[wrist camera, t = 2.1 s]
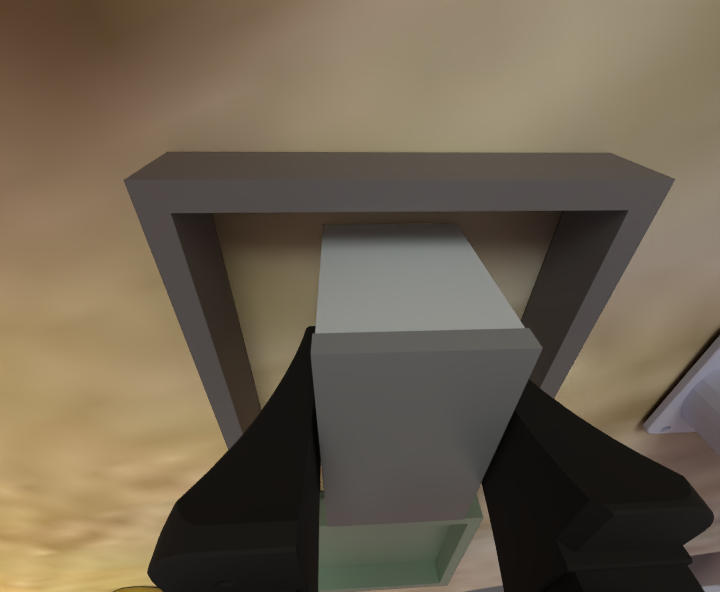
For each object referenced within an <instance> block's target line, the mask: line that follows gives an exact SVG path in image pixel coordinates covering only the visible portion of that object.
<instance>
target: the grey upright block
mask: <svg viewBox="0 0 720 592" xmlns="http://www.w3.org/2000/svg"><path fill="white" fill-rule="evenodd" d="M542 349H543V348H542V346H541V345H540V343H539V342H538V340H537V339H536V337H535V336H534V334H533V333H532V331H531V330H530V328H525V327H524V326H523V324H522V323H521V321H520V319H519V318H518V316H517V315H516V313H515V312H514V310H513V309H512V307H511V306H510V304H509V303H508V301H507V300H506V298H505V297H504V295H503V294H502V292H501V291H500V289H499V288H498V286H497V284H496V283H495V281H494V280H493V278H492V277H491V275H490V274H489V272H488V271H487V269H486V268H485V266H484V265H483V263H482V262H481V260H480V259H479V257H478V256H477V254H476V253H475V251H474V249H473V248H472V246H471V245H470V243H469V242H468V240H467V239H466V237H465V236H464V234H463V233H462V231H461V230H460V228H459V227H458V225H457V224H456V223H432V224H323V235H322V248H321V262H320V275H319V288H318V302H317V315H316V328H315V333H312V344H311V364H312V374H313V384H314V394H315V405H316V415H317V425H318V435H319V445H320V455H321V466H322V476H323V486H324V496H325V506H326V517H327V527H337V526H356V525H374V524H393V523H411V522H430V521H448V520H464V518H465V516H466V514H467V512H468V510H469V508H470V505H471V503H472V501H473V499H474V497H475V495H476V492H477V490H478V488H479V486H480V484H481V482H482V479H483V477H484V475H485V473H486V471H487V468H488V466H489V464H490V462H491V460H492V458H493V455H494V453H495V451H496V449H497V447H498V445H499V442H500V440H501V438H502V436H503V434H504V432H505V429H506V427H507V425H508V423H509V421H510V418H511V416H512V414H513V412H514V410H515V408H516V405H517V403H518V401H519V399H520V397H521V395H522V392H523V390H524V388H525V386H526V384H527V382H528V379H529V377H530V375H531V373H532V371H533V368H534V366H535V364H536V362H537V360H538V358H539V355H540V353H541V351H542Z"/></svg>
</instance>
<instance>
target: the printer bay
mask: <svg viewBox="0 0 720 592" xmlns="http://www.w3.org/2000/svg"><path fill="white" fill-rule="evenodd" d="M674 180H675V179H673V178H671V177H669V176H666V175H664V174H661V173H659V172H656V171H654V170H651V169H649V168H646V167H644V166H641V165H639V164H637V163H634V162H632V161H629V160H627V159H624V158H622V157H619V156H617V155H614V154H612V153H386V152H166V153H165V154H163V155H162V156H160V157H159V158H157V159H156V160H154V161H153V162H151V163H149V164H148V165H146V166H145V167H143V168H142V169H140V170H139V171H137V172H136V173H134V174H132V175H131V176H129V177H128V178H126V179H125V180H124V182H125V185H126V187H127V190H128V192H129V195H130V197H131V200H132V203H133V205H134V208H135V210H136V213H137V216H138V218H139V221H140V223H141V226H142V228H143V231H144V234H145V236H146V239H147V241H148V244H149V246H150V249H151V252H152V254H153V257H154V259H155V262H156V264H157V267H158V270H159V272H160V275H161V277H162V280H163V283H164V285H165V288H166V290H167V293H168V295H169V298H170V301H171V303H172V306H173V308H174V311H175V313H176V316H177V319H178V321H179V324H180V326H181V329H182V332H183V334H184V337H185V339H186V342H187V344H188V347H189V350H190V352H191V355H192V357H193V360H194V362H195V365H196V368H197V370H198V373H199V375H200V378H201V380H202V383H203V386H204V388H205V391H206V393H207V396H208V399H209V401H210V404H211V406H212V409H213V411H214V414H215V417H216V419H217V422H218V424H219V427H220V429H221V432H222V435H223V437H224V440H225V442H226V445H227V447H228V450H229V449H230V448H231V447H232V446H233V445H234V444H235V443H236V441H237V440H238V439H239V438H240V437H241V436H242V434H243V433H244V432H245V431H246V430H247V428H248V427H249V426H250V425H251V423H252V422H253V421H254V420H255V418H256V417H257V416H258V414H259V413H260V412H261V408H260V404H259V400H258V396H257V392H256V388H255V384H254V380H253V376H252V372H251V368H250V364H249V360H248V356H247V352H246V348H245V344H244V341H243V337H242V333H241V329H240V325H239V321H238V317H237V313H236V309H235V305H234V301H233V297H232V293H231V289H230V285H229V281H228V277H227V273H226V269H225V265H224V261H223V257H222V253H221V250H220V246H219V242H218V238H217V234H216V230H215V226H214V222H213V218H212V214H211V213H279V212H431V211H563V213H562V216H561V218H560V221H559V224H558V226H557V229H556V232H555V234H554V237H553V239H552V242H551V245H550V247H549V250H548V252H547V255H546V258H545V260H544V263H543V265H542V268H541V271H540V273H539V276H538V279H537V281H536V284H535V286H534V289H533V292H532V294H531V297H530V299H529V302H528V305H527V307H526V310H525V313H524V315H523V318H522V320H521V323H522V324H523V326H524V327H525V328H530V330H531V331H532V333H533V334H534V336H535V337H536V339H537V340H538V342H539V343H540V345H541V346H542V348H543V349H542V351H541V353H540V355H539V358H538V360H537V362H536V364H535V366H534V368H533V371H532V373H531V375H530V377H529V379H530V380H531V381H532V382H533V383H534V384H536V385H537V386H538V387H539V388H540V389H542V390H543V391H544V392H545V393H547V394H548V395H549V396H551V397H552V398H553V399H554V398H555V396H556V394H557V392H558V390H559V389H560V387H561V385H562V383H563V381H564V379H565V378H566V376H567V374H568V372H569V370H570V369H571V367H572V365H573V363H574V361H575V360H576V358H577V356H578V354H579V352H580V351H581V349H582V347H583V345H584V343H585V341H586V340H587V338H588V336H589V334H590V332H591V331H592V329H593V327H594V325H595V323H596V322H597V320H598V318H599V316H600V314H601V313H602V311H603V309H604V307H605V305H606V303H607V302H608V300H609V298H610V296H611V294H612V293H613V291H614V289H615V287H616V285H617V284H618V282H619V280H620V278H621V276H622V275H623V273H624V271H625V269H626V267H627V265H628V264H629V262H630V260H631V258H632V256H633V255H634V253H635V251H636V249H637V247H638V246H639V244H640V242H641V240H642V238H643V237H644V235H645V233H646V231H647V229H648V228H649V226H650V224H651V222H652V220H653V218H654V217H655V215H656V213H657V211H658V209H659V208H660V206H661V204H662V202H663V200H664V199H665V197H666V195H667V193H668V191H669V190H670V188H671V186H672V184H673V182H674Z"/></svg>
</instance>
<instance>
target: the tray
mask: <svg viewBox="0 0 720 592" xmlns="http://www.w3.org/2000/svg"><path fill="white" fill-rule="evenodd" d="M482 519H483V514H482V511H481V508H480V505H479V501H478V498H477V495H475V497H474V499H473V501H472V503H471V505H470V508H469V510H468V512H467V514H466V516H465V518H464V520H448V521H430V522H411V523H393V524H374V525H356V526H337V527H327V517H326V506H325V496H324V492H320V511H319V572H318V592H352V591H368V590H384V589H399V588H415V587H430V586H446V585H448V583H449V581H450V579H451V577H452V576H453V574H454V572H455V570H456V568H457V566H458V564H459V562H460V561H461V559H462V557H463V555H464V553H465V551H466V549H467V547H468V546H469V544H470V542H471V540H472V538H473V536H474V534H475V532H476V531H477V529H478V527H479V525H480V523H481V521H482Z"/></svg>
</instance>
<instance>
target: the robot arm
mask: <svg viewBox="0 0 720 592" xmlns="http://www.w3.org/2000/svg"><path fill="white" fill-rule="evenodd" d="M315 328H316V326H309V327H308V328H306V331H305V334H304V337H303V339H302V342H301V344H300V346H299V348H298V351H297V353H296V355H295V357H294V359H293V361H292V362H291V364H290V366H289V368H288V370H287V372H286V374H285V375H284V377H283V379H282V380H281V382H280V383H279V385H278V387H277V388H276V390H275V392H274V393H273V395H272V396H271V398H270V399H269V401H268V402H267V403H266V405H265V406H264V408H263V409H262V410H261V412H260V413H259V414H258V416H257V417H256V418H255V420H254V421H253V422H252V423H251V425H250V426H249V427H248V428H247V430H246V431H245V432H244V433H243V434H242V436H241V437H240V438H239V439H238V440H237V441H236V443H235V444H234V445H233V446H232V447H231V448H230V449H229V450H228V451H227V452H226V453H225V454H224V456H223V457H222V458H221V459H220V460H219V461H218V462H217V463H216V464H215V465H214V466H213V467H212V468H211V469H210V470H209V471H208V472H207V473H206V474H205V475H204V476H203V477H202V478H201V479H200V480H199V481H198V482H197V483H196V484H195V485H193V486H192V487H191V488H190V489H189V490H188V491H187V492H186V493H185V494H184V495H183V496H182V497H181V498H180V499H179V500H177V502H176V503H175V505H174V507H173V509H172V511H171V513H170V515H169V516H168V519H167V521H166V523H165V525H164V527H163V529H162V531H161V534H160V536H159V539H158V541H157V544H156V547H155V550H154V553H153V556H152V559H151V561H150V564H149V567H148V572H147V573H148V575H149V577H150V579H151V580H152V582H153V583H154V584H155V585H156V586H157V587H158V588H160V589H161V590H162V591H163V592H318V572H319V511H320V467H321V455H320V445H319V435H318V425H317V415H316V405H315V394H314V384H313V374H312V364H311V344H312V333H315ZM643 428H644V429H645V430H646V431H647V432H648V433H650V434H662V433H685V432H697V433H698V434H699V435H700V436H701V438H702V439H703V440H704V441H705V442H706V443H707V444H708V445H709V446H710V447H711V448H712V449H713V451H714V452H715V453H716V454H717V455H718V456H719V457H720V335H719V336H718V337H717V339H716V340H715V341H714V342H713V343H712V344H711V346H710V347H709V348H708V349H707V350H706V351H705V353H704V354H703V355H702V356H701V357H700V359H699V360H698V361H697V362H696V363H695V364H694V366H693V367H692V368H691V369H690V370H689V371H688V373H687V374H686V375H685V376H684V377H683V378H682V380H681V381H680V382H679V383H678V384H677V385H676V387H675V388H674V389H673V390H672V391H671V392H670V394H669V395H668V396H667V397H666V398H665V399H664V401H663V402H662V403H661V404H660V405H659V406H658V408H657V409H656V410H655V411H654V412H653V413H652V415H651V416H650V417H649V418H648V419H647V420H646V422H645V423H644V424H643ZM482 487H483V491H484V495H485V499H486V504H487V508H488V512H489V517H490V522H491V526H492V531H493V536H494V540H495V545H496V550H497V556H498V561H499V566H500V571H501V577H502V582H503V588H504V592H720V585H705V586H701V585H700V584H699V582H698V581H697V579H696V578H695V576H694V575H693V573H692V572H691V570H690V569H689V567H688V566H687V565H689V564H691V563H692V558H691V557H690V555H689V554H688V552H687V551H686V549H685V548H684V547H683V545H684V544H686V543H687V542H689V541H690V540H692V539H693V538H695V537H696V536H698V535H699V534H701V533H702V532H704V531H705V530H706V529H707V528H708V527H710V526H711V524H712V522H713V520H714V515H713V512H712V511H711V509H710V508H709V507H708V506H707V504H706V503H705V502H704V501H703V499H702V498H701V497H700V496H699V494H698V493H697V492H696V491H695V489H694V488H693V487H692V486H691V484H690V483H689V482H688V481H687V480H686V479H685V477H684V476H682V475H680V474H678V473H676V472H674V471H672V470H670V469H668V468H666V467H664V466H662V465H660V464H659V463H657V462H655V461H653V460H651V459H649V458H647V457H645V456H643V455H641V454H639V453H637V452H636V451H634V450H632V449H630V448H629V447H627V446H625V445H623V444H622V443H620V442H618V441H616V440H615V439H613V438H611V437H610V436H608V435H606V434H605V433H603V432H602V431H600V430H598V429H597V428H595V427H594V426H592V425H591V424H589V423H588V422H586V421H584V420H583V419H581V418H580V417H578V416H577V415H575V414H574V413H573V412H571V411H570V410H568V409H567V408H565V407H564V406H563V405H561V404H560V403H559V402H557V401H556V400H555V399H553V398H552V397H551V396H549V395H548V394H547V393H545V392H544V391H543V390H542V389H540V388H539V387H538V386H537V385H536V384H534V383H533V382H532V381H531V380H530V379H528V382H527V384H526V386H525V388H524V390H523V392H522V395H521V397H520V399H519V401H518V403H517V405H516V408H515V410H514V412H513V414H512V416H511V418H510V421H509V423H508V425H507V427H506V429H505V432H504V434H503V436H502V438H501V440H500V442H499V445H498V447H497V449H496V451H495V453H494V455H493V458H492V460H491V462H490V464H489V466H488V468H487V471H486V473H485V475H484V477H483V479H482Z"/></svg>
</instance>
